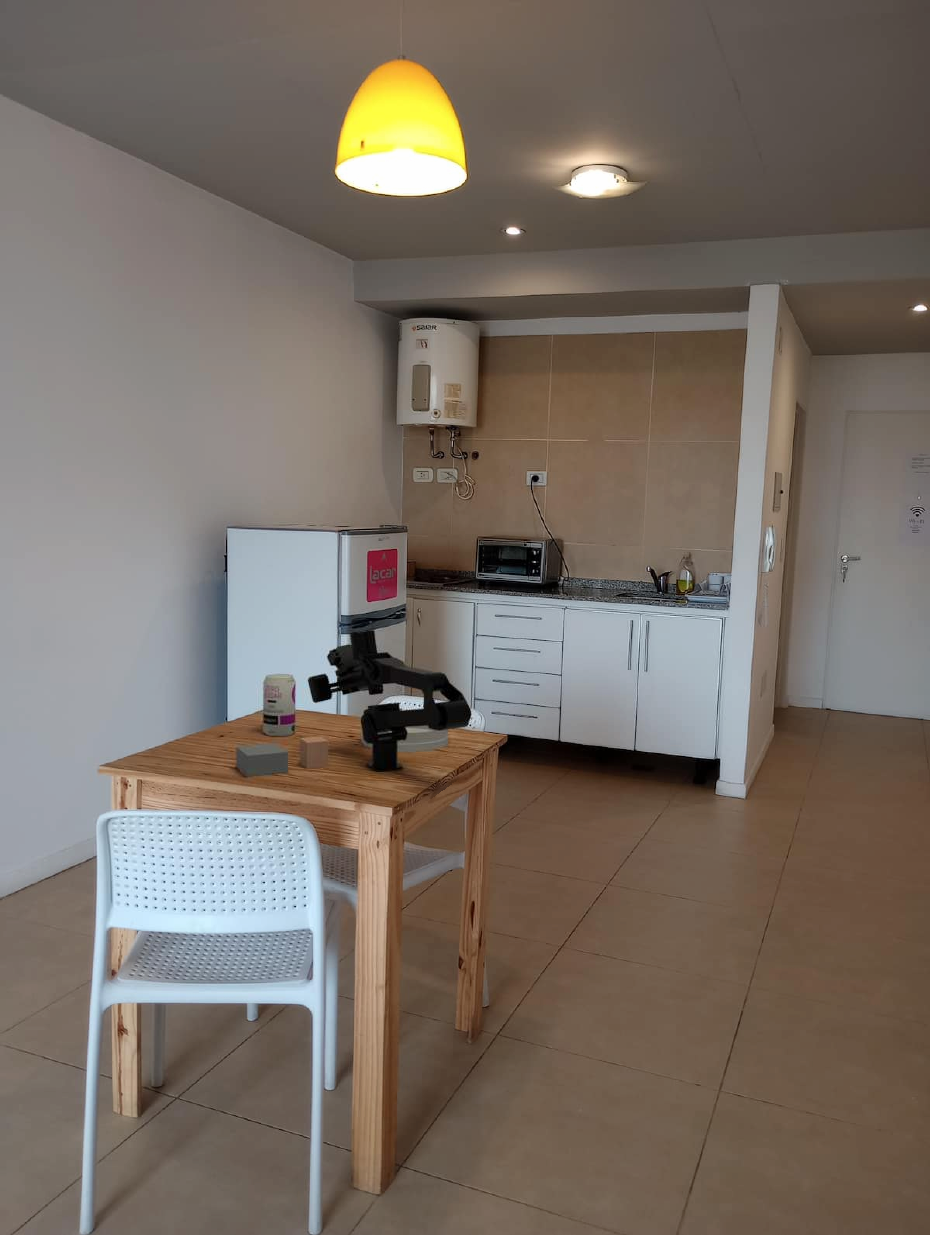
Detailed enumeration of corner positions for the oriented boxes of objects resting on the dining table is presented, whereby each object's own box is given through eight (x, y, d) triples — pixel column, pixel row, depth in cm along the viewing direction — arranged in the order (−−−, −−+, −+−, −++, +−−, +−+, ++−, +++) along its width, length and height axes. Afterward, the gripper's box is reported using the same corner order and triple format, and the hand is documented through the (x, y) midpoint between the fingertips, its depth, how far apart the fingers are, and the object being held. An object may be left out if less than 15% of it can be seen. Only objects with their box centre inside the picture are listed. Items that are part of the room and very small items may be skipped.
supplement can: (295, 729, 258) (295, 673, 257) (295, 736, 250) (295, 678, 249) (263, 730, 257) (263, 673, 255) (262, 737, 249) (262, 678, 247)
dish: (464, 740, 253) (464, 720, 252) (420, 757, 233) (421, 737, 233) (390, 729, 263) (391, 711, 262) (343, 745, 243) (343, 725, 243)
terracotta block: (328, 767, 222) (328, 741, 221) (306, 769, 219) (307, 742, 219) (320, 761, 226) (321, 736, 225) (299, 763, 224) (300, 738, 223)
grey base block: (287, 774, 215) (288, 752, 215) (247, 778, 211) (247, 755, 211) (275, 764, 223) (275, 743, 223) (236, 768, 219) (236, 746, 218)
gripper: (386, 637, 234) (352, 648, 246) (319, 650, 222) (287, 662, 234) (397, 682, 233) (363, 692, 245) (330, 698, 222) (298, 707, 234)
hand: (328, 687), depth 240 cm, fingers open, 9 cm apart
